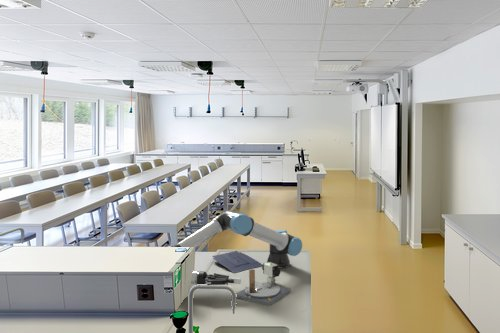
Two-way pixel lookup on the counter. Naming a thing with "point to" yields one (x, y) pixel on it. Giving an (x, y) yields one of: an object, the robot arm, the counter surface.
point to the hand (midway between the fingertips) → (240, 281)
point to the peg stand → (260, 288)
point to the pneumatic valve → (271, 271)
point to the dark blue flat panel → (236, 261)
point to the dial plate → (263, 300)
